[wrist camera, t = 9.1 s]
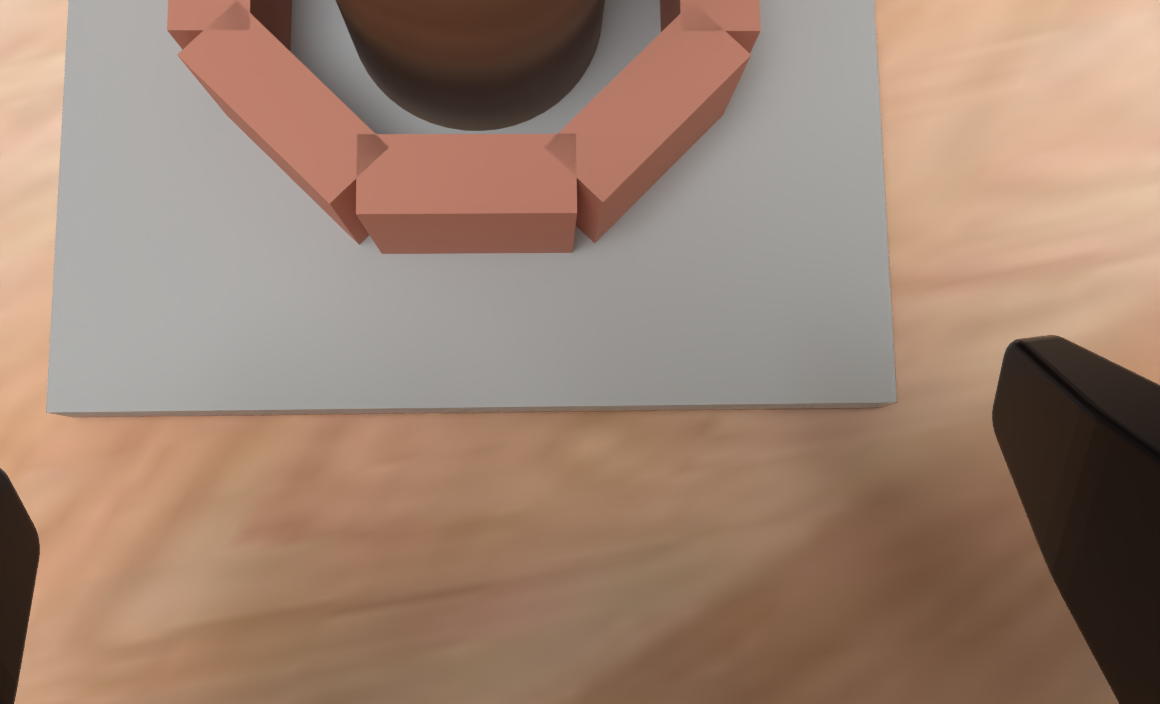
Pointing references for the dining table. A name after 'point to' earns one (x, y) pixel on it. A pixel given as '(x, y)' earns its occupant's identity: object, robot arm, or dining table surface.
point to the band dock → (469, 221)
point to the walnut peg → (474, 55)
